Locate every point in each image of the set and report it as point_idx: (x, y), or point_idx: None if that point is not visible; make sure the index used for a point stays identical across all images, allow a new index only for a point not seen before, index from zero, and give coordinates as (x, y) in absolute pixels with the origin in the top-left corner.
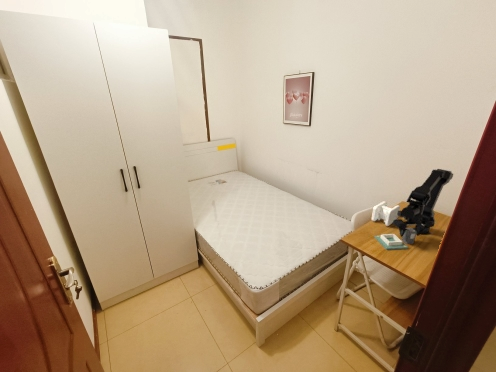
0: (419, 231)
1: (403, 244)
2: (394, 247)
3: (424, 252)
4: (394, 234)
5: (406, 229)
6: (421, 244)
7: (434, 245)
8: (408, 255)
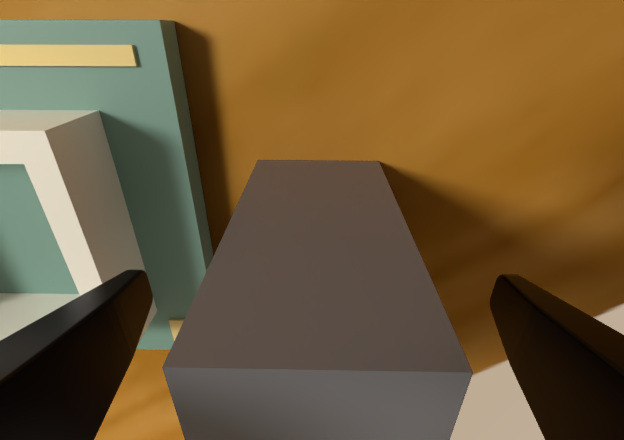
0: (567, 426)
1: (186, 304)
2: None
3: None
4: (54, 158)
5: (186, 423)
6: (460, 282)
7: (602, 311)
8: (172, 402)
